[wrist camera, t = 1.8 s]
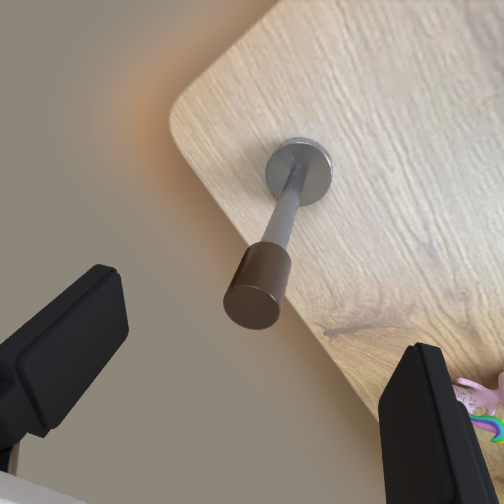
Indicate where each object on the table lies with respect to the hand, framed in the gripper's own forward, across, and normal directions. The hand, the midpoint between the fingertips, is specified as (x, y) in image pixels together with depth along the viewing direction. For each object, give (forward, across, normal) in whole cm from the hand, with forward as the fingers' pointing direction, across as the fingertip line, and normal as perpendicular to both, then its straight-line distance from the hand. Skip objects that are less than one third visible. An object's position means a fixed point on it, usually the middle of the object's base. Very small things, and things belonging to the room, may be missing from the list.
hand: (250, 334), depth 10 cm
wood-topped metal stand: (+16, 0, 0) cm, 16 cm away
